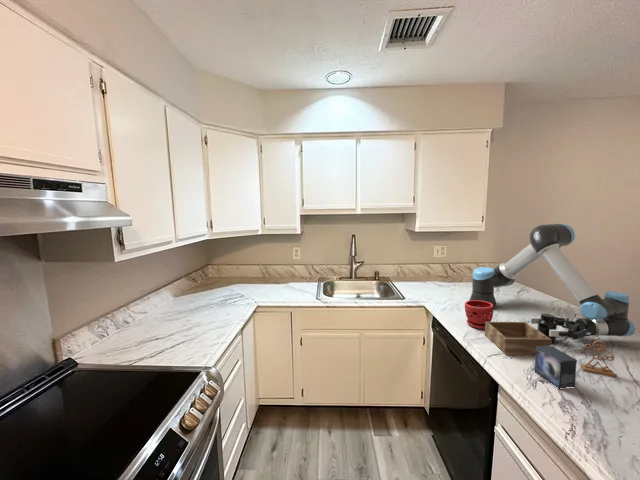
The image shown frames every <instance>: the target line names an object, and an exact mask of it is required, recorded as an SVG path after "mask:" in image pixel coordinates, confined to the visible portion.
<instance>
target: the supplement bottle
mask: <svg viewBox="0 0 640 480" xmlns="http://www.w3.org/2000/svg"><path fill="white" fill-rule="evenodd" d="M554 317H555V315H553V314H551V313H541V314H540V318H541V319H540V320H538V324H537V330H538V331H540V332H541V333H543V334H544V335H546V336H547V337H549V338H550V339H552V344H554V343H556V342H557V337H556V336H549V332H550V330H558V329H557V327H558V325H557V324H556V322H554Z"/></svg>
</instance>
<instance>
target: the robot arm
mask: <svg viewBox="0 0 640 480" xmlns="http://www.w3.org/2000/svg"><path fill="white" fill-rule="evenodd" d="M575 235H576V233H575V229H573V227H572V226H570V225H569V224H566V223H552V224H540V225H538V226H537V225H536V226H535V227H534V228H533V229H531V231H530V233H529V242H530V244H528V245H526V247H524V248H523V249H522V250H521V251H519V252H518V253H517V254H516V255H514V256H513V257H511V258H510V259H509V260H508V261H506V262H502V263H499V265H497V266H496V267H495V268H492V267H490V266H484V267H483V266H481V267H476V268H475V269H473V271H472V277H471V278H472V285H471V286H472V291H471V295H470V298H469V299H468V301H471V300H479V301H486V302H489V303H491V304H493V310H495V309H497V307H498V303H497V300H496V298H495V288H502V287H509V286H511V285H513V284H515V282H516V281H517V278H518V277H519V275H518V274H520V273H522V271H524V270H525V269H526V268H528V267H530V266H531V265H532V264H534V263H535V262H537V261H538V260H540V259H541V258H543V259H544V260H545V262H546V263H548V265H549V267H550V268H551V269H552V271H554V273H555V274H556V276H557V277H558V278H559V279H560V281H562V283H563V284H564V285H565V287H567V289H568V291H569V292H570V293H571V294H572V295H573V297H574V298H575V300H577V302H578V303H579V304H580V306H579V312H580V313H581V315H582V316H583V317H580V318H577V319H576V320H575V321H574V320H570V319H569V318H568V317H567V318H565V317H557V316H556V317H555V316H554V322H556V324H557V327H558V326H559V327H562V328H563V329H557V330H550V332H549V336H556V338H558V337H561V338H562V337H564V338H565V337H567V338H571V339H572V340H579V339H582V338H585V337H592V336H595V337H600V336H601V337H607V336H608V337H609V336H610V337H627V336H628V337H630V336H632V335H633V334H634V333H635V332H636V327H635V324H634V322H633V321H632V320H630V319H628V317H629V308H630V307H629V306H630V296H629V294H628V293H623V292H619V291H606V292H605V293H604V298H602V297H601V296H600V295H599V294H598V292H597V291H596V290H595V289H594V288H593V287H592V285H591V284H590V283H589V282H588V281H587V280H586V278H585V277H584V276H583V274H581V272H580V271H579V270H578V268H577V267H576V266H575V265H574V264H573V263H572V262H571V261H570V259H569V258H568V257H567V256H566V255H565V253H564V252H563V251H562V250H561V247H566V246H569V245H571V244H572V243H573V242H574V241H575V237H576V236H575ZM473 307H475V306H473ZM477 307H480V306H479V305H477ZM482 308H484V307H482ZM540 319H541V317H530V318H529V323H530V324H531V325H533V324H535V325H536V324H537V325H538V320H540Z"/></svg>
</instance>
